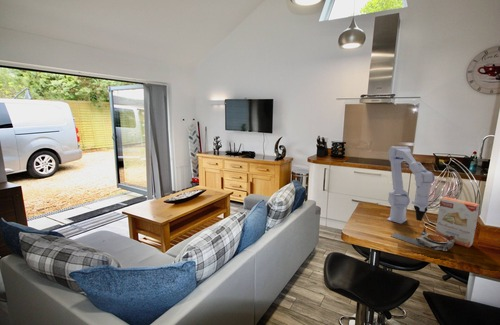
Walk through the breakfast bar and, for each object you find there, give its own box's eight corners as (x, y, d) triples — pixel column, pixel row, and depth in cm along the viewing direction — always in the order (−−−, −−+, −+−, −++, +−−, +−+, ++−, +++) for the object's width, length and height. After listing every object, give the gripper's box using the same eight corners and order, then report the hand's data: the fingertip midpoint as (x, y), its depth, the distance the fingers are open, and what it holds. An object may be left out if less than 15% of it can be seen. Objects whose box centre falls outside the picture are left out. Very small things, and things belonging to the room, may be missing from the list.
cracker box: (434, 237, 129) (440, 198, 125) (438, 234, 132) (444, 195, 129) (469, 248, 118) (476, 206, 114) (472, 244, 121) (480, 203, 117)
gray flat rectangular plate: (394, 233, 133) (394, 232, 133) (427, 243, 122) (427, 243, 122) (390, 236, 129) (390, 235, 129) (423, 247, 118) (423, 246, 118)
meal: (424, 226, 131) (456, 235, 121) (422, 234, 132) (454, 244, 122) (416, 235, 121) (450, 246, 111) (414, 243, 121) (448, 255, 112)
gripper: (412, 190, 136) (409, 214, 138) (413, 197, 123) (410, 223, 126) (427, 192, 132) (424, 216, 135) (431, 199, 120) (427, 226, 122)
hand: (418, 220), depth 130 cm, fingers closed
